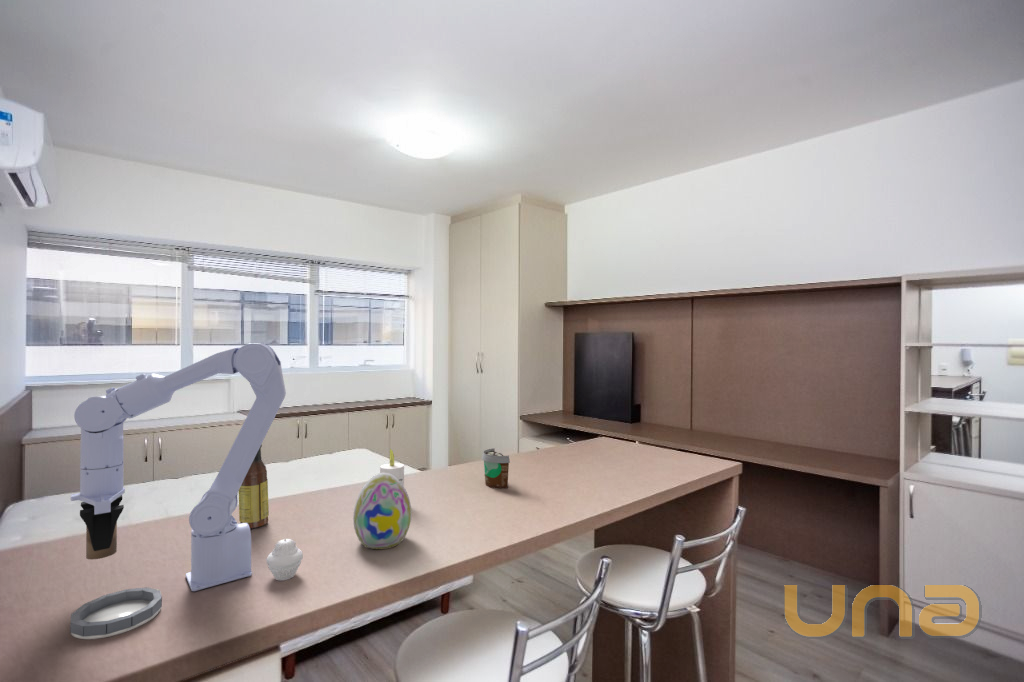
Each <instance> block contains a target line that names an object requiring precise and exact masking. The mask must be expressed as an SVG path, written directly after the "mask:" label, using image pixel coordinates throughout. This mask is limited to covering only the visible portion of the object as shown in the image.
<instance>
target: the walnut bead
mask: <svg viewBox="0 0 1024 682" xmlns="http://www.w3.org/2000/svg"><path fill="white" fill-rule="evenodd" d="M85 526H86V525H85ZM117 530H118V521H117V522H116V525H115V529H114V534H113V539H112V543H111V546H110V548H107V549H103V550H98V551H94V550H93V547H92V544H91V539H90V535H89V531H88V528H87V526H86V533H85V534H86V538H85V539H86V541H85V542H86V543H85V544H86V545H85V546H86V547H85V549H86V551H85V554H86V555H85V557H86V559H87V560H99V559H103V558H104V559H105V558H107V557H110V556H112V555H114V554H116V553H117V551H118V544H117V542H118V536H117V535H118V531H117Z"/></svg>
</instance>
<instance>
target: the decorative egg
mask: <svg viewBox="0 0 1024 682" xmlns="http://www.w3.org/2000/svg"><path fill="white" fill-rule="evenodd" d="M352 519H353V521H352V522H353V529H354V532H355V534H356V536H357V539H358V540H359V542H360V543H361V544H362V546H364V547H366V548H368V549H372V550H385V549H391V548H393V547H396V546H398V545H399V544H401V543H402V541H403V540H404V539H405V537H406V536H407V534H408V532H409V529H410V526H411V522H412V505H411V501H410V496H409V494H408V491H407V490H406V488H405V485H404V486H403V485H402V483H401V482H400V481H399V480H398V479H397V478H396V477H395V476H393V475H391V474H389V473H380V472H379V473H377V474H374V475H373V476H372V477H371V478H370V479H369V480H367V481H366V483H365V484H364V486H363V487H362V488H361V489H360V492H359V493H358V495H357V498H356V502H355V505H354V510H353V518H352Z"/></svg>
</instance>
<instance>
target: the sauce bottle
mask: <svg viewBox="0 0 1024 682" xmlns="http://www.w3.org/2000/svg"><path fill="white" fill-rule="evenodd" d="M262 445H263V443H262V444H261V446H260V448H259V450H258V452H257V454H256V456H255V458H254V460H253V462H252V464H251V466H250V468H249V470H248V472H247V474H246V476H245V478H244V480H243V482H242V485H241V487H240V489H239V491H238V520H239V523H248V525H249V527H250V530H251V529H257V528H261V527H264V526H265V525H267V524H268V522H269V512H270V511H269V510H270V509H269V483H268V482H269V481H268V479H269V478H268V470H267V467H266V465H265V463H264V462H263V460H262Z"/></svg>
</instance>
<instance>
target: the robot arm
mask: <svg viewBox="0 0 1024 682" xmlns="http://www.w3.org/2000/svg"><path fill="white" fill-rule="evenodd" d="M237 373H239V374H240V375H241V376H242V377H243V378H244V379H245V380H247V382H248V383H249V385H250V387H251V389H252V391H253V392H254V394H255V400H254V401H253V404H252V406H251V408H250V410H249V412H248V414H247V415H246V418H245V420H244V422H243V424H242V426H241V428H240V430H239V432H238V434H237V436H236V438H235V439H234V441H233V444H232V446H231V447H230V450H229V451H228V452H227V453H228V454H227V455H226V457H225V459H224V461H223V463H222V465H221V467H220V469H219V471H218V473H217V475H216V478H215V479H214V480H213V483H212V484H211V486H210V488H209V489H208V490H207V491H206V492H205V493H203V495H202V497H201V498H200V501H198V504H196V505H195V506H194V507H193V508H192V510H191V511H190V514H189V517H188V521H189V526H190V528H191V533H190V534H191V536H190V537H191V539H190V540H191V541H190V543H191V544H190V550H191V551H190V571H189V572H186V573H185V578H186V580H187V583H188V585H189V588H190V590H191V592H196V591H201V590H203V589H204V590H205V589H207V588H211V587H215V586H218V585H222V584H225V583H229V582H232V581H233V582H234V581H237V580H240V579H244V578H246V577H251V576H252V575H253V571H252V533H251V532H252V531H251V529H250V527H249V525H248V523H240V522H239V523H238V521H237V520H236V518H235V517H234V515H233V513H234V511H235V510H236V509H237V506H238V504H239V497H238V496H239V489H240V487H241V485H242V482H243V480H244V478H245V476H246V474H247V472H248V470H249V468H250V466H251V464H252V462H253V460H254V458H255V456H256V454H257V452H258V450H259V448H260V446H261V444H262V445H263V443H264V440H265V438H266V436H267V434H268V432H269V430H270V428H271V426H272V424H273V422H274V420H275V417H276V416H277V413H278V412H279V410H280V407H281V406H282V404H283V401H284V399H285V398H286V394H287V393H286V391H287V390H286V387H285V381H284V375H283V369H282V361H281V359H280V358H279V356H278V355H277V353H276V352H275V350H274V349H273V348H272V347H271V346H270V345H268V344H266V343H260V342H258V343H257V342H252V343H246V344H244V345H242V346H240V347H234V348H231V349H227V350H224V351H220V352H217V353H214V354H212V355H210V356H208V357H205V358H203V359H201V360H199V361H196V362H194V363H192V364H190V365H187V366H186V367H183V368H181V369H179V370H177V371H174V372H172V373H170V374H168V375H160V374H157V373H151V374H149V375H147V374H146V373H142V374H139V375H137V376H135V379H136V380H134V381H131V382H130V383H126V384H124V385H122V386H120V387H117V388H115V387H110V388H108V389H106V390H105V393H106V394H105V395H100V396H98V395H97V396H90V397H88V398H87V399H86V400H84V401H82V402H81V403H80V404H79V405H78V406H77V407H76V409H75V411H74V414H73V416H74V421H75V423H76V425H77V426H78V428H79V427H80V445H79V446H80V449H79V450H80V451H79V452H80V453H79V454H80V455H79V459H80V461H79V463H80V464H79V469H80V470H79V471H80V472H79V478H80V479H79V492H78V493H73V494H70V501H71V502H73V501H81V503H80V508H82V509H80V510H79V516H80V518H81V519H82V521H83V522H84V524H85V526H87V528H88V531H89V535H90V539H91V544H92V547H93V550H94V551H98V550H103V549H107V548H110V546H111V543H112V539H113V534H114V529H115V525H116V522H117V523H118V520H119V518H120V516H121V514H122V513H123V512H124V511H123V510H124V508H125V506H124V504H121V503H122V500H123V495H124V494H125V492H126V490H125V489H126V488H125V487H124V467H125V464H124V451H125V448H124V447H125V443H124V439H125V437H124V422H125V421H126V420H127V419H129V420H130V419H134V418H136V417H138V416H140V415H142V414H145V413H147V412H149V411H151V410H154V409H156V408H158V407H161V406H163V405H165V404H168V403H170V402H171V400H172V397H173V395H174V393H175V392H176V391H178V390H181V389H183V388H186V387H188V386H191V385H193V384H197V383H198V382H200V381H204V380H206V379H207V378H210V377H213V376H215V375H217V374H224V375H226V374H227V375H234V374H237ZM120 504H121V505H120Z"/></svg>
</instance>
